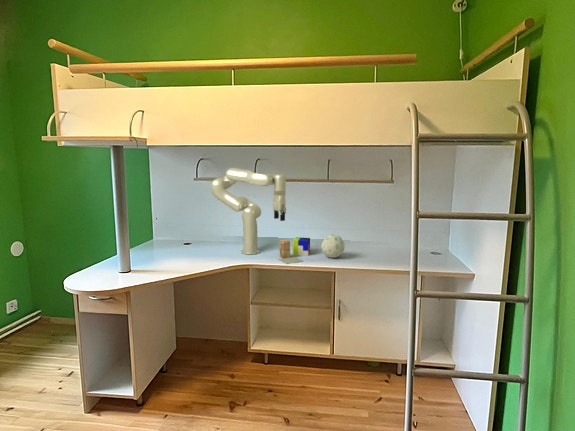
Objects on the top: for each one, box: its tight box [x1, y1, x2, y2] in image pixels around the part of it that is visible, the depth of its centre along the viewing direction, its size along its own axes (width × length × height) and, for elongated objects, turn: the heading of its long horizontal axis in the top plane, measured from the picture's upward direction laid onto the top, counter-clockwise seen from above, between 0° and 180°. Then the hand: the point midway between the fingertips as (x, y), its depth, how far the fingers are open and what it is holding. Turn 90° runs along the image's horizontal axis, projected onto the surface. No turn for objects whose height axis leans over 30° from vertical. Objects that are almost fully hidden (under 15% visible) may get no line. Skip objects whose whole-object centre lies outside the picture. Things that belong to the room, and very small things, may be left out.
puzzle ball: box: [320, 234, 345, 259], centre depth 257 cm, size 15×15×15 cm
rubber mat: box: [278, 256, 305, 265], centre depth 250 cm, size 11×12×1 cm
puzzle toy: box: [292, 236, 311, 257], centre depth 267 cm, size 10×10×10 cm
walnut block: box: [279, 239, 291, 259], centre depth 257 cm, size 5×5×11 cm
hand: (279, 219), depth 260 cm, fingers open, 8 cm apart
